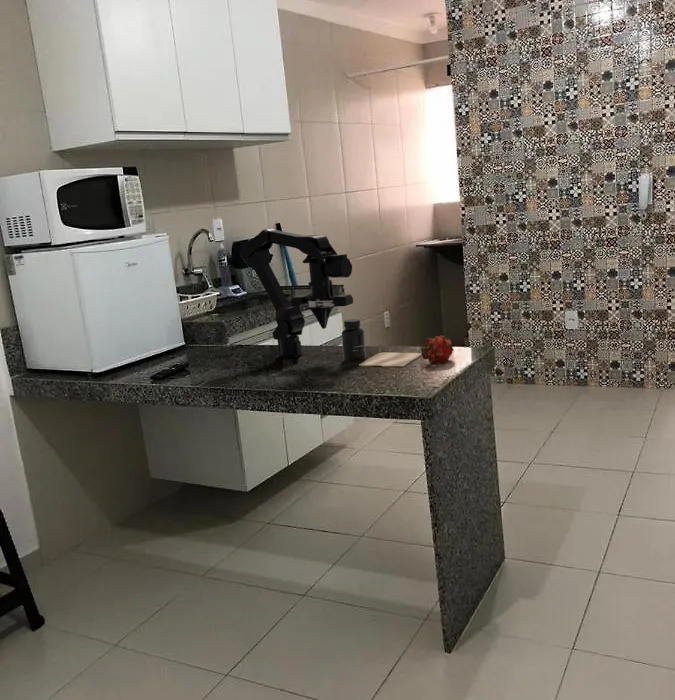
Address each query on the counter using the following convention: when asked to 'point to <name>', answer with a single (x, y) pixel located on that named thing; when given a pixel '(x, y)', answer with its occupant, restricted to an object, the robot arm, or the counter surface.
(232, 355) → the counter surface
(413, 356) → the cork mat
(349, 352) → the supplement bottle
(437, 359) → the dragon fruit
